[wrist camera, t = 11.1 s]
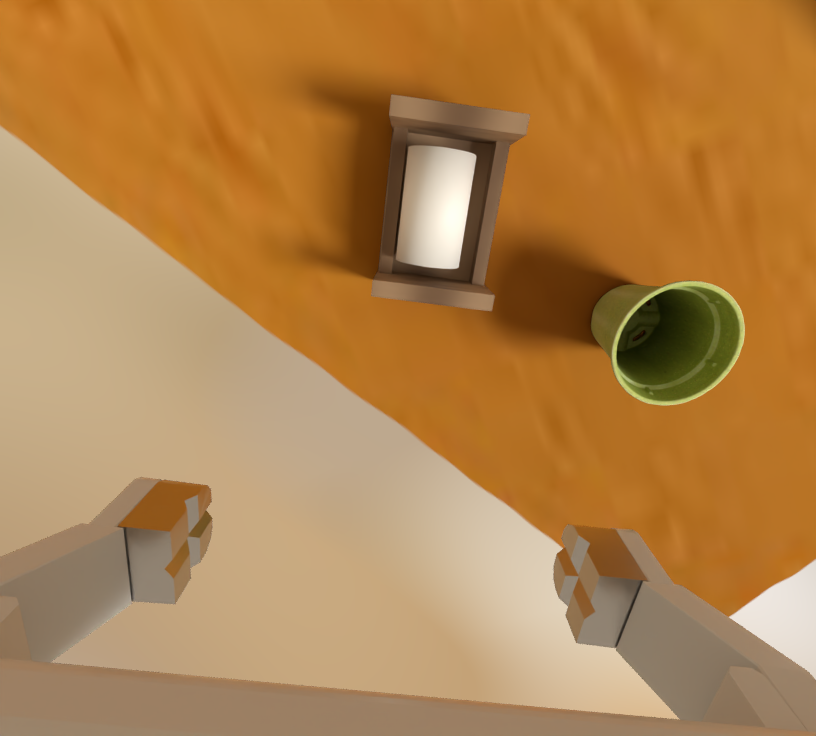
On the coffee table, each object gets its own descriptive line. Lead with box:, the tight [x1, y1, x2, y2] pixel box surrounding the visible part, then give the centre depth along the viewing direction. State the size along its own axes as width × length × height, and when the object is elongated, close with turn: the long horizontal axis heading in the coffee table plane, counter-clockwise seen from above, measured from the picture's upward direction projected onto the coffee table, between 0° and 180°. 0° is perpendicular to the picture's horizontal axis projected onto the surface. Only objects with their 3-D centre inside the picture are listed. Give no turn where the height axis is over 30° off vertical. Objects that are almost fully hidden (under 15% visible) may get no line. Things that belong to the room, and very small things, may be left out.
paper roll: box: [396, 145, 476, 269], centre depth 34 cm, size 8×5×5 cm, turn 173°
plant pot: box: [591, 281, 745, 405], centre depth 36 cm, size 9×9×9 cm
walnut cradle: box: [371, 94, 530, 311], centre depth 34 cm, size 9×13×7 cm
